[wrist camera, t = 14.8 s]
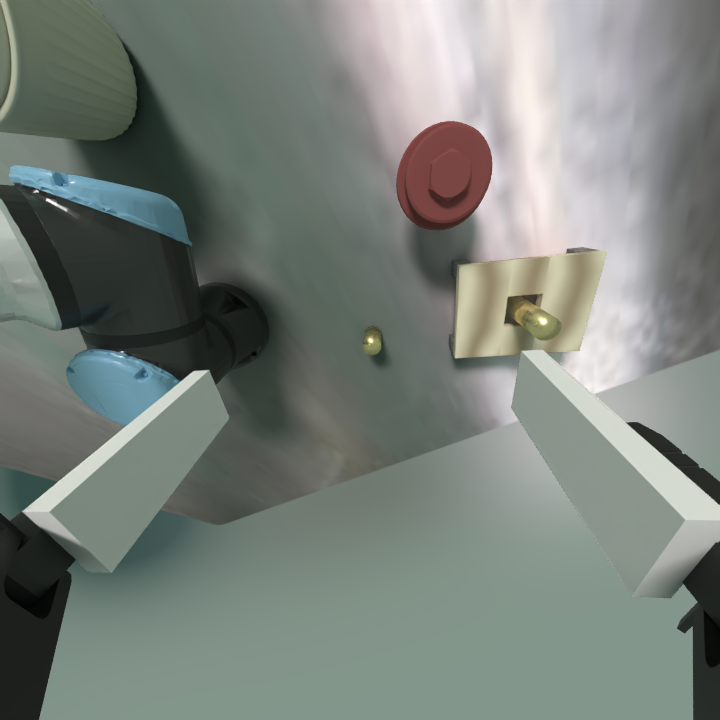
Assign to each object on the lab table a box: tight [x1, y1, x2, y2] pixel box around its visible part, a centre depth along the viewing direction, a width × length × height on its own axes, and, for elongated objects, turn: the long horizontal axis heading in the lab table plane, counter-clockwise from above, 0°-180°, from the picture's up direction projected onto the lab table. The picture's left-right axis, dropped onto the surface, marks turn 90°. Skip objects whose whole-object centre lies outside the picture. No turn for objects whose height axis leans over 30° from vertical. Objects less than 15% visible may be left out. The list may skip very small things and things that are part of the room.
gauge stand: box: [449, 247, 607, 358], centre depth 41 cm, size 18×14×5 cm
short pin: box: [362, 327, 382, 355], centre depth 46 cm, size 3×3×5 cm
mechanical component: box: [396, 121, 492, 230], centre depth 32 cm, size 12×10×10 cm
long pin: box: [506, 296, 561, 341], centre depth 38 cm, size 3×3×12 cm
